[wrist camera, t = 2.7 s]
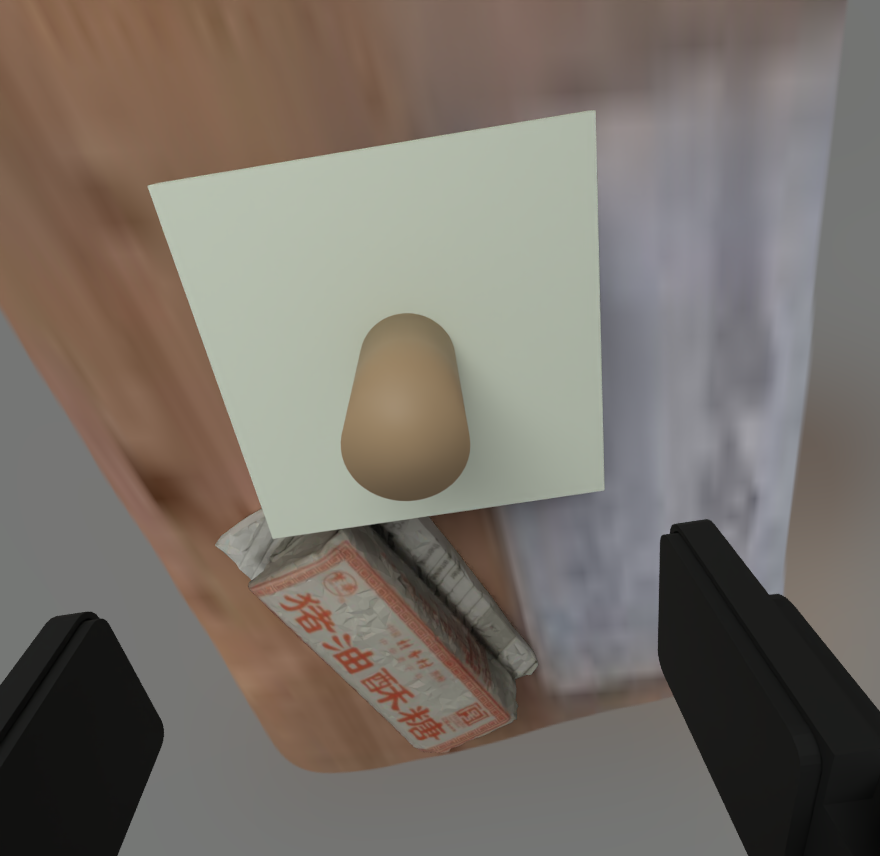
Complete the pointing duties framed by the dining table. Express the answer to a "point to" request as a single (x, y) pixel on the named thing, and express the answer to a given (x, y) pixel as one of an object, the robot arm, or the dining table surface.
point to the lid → (403, 321)
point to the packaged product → (393, 622)
